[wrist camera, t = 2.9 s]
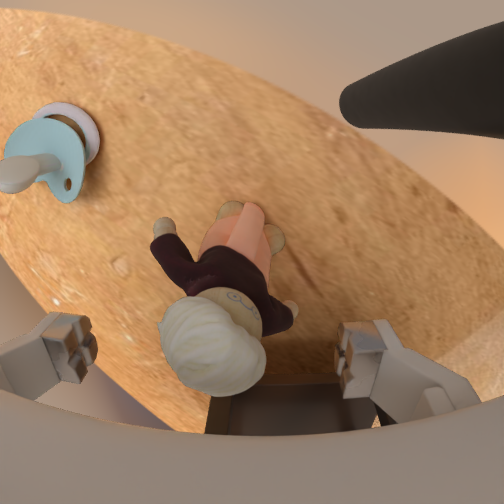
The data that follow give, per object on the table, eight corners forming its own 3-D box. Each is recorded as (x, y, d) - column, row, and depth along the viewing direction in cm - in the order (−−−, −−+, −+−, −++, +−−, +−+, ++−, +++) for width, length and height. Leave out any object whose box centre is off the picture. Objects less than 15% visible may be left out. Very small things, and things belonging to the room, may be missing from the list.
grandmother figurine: (311, 226, 19) (373, 374, 7) (282, 278, 20) (298, 449, 9) (195, 173, 18) (79, 253, 6) (172, 229, 19) (66, 362, 8)
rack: (371, 332, 22) (430, 482, 10) (348, 416, 26) (372, 537, 13) (222, 334, 22) (192, 500, 10) (229, 418, 26) (215, 546, 14)
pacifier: (42, 92, 16) (19, 169, 18) (-18, 87, 10) (-40, 185, 12) (120, 121, 17) (90, 206, 19) (65, 117, 11) (35, 234, 13)
